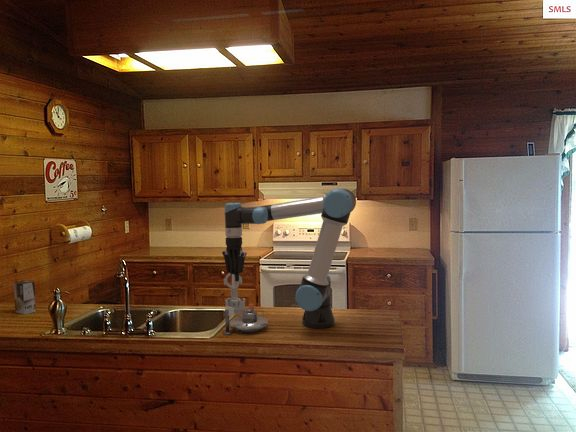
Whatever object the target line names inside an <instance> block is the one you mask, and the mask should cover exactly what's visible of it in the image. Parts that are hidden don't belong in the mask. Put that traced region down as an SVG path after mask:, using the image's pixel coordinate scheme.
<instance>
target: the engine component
mask: <svg viewBox="0 0 576 432" xmlns="http://www.w3.org/2000/svg"><path fill="white" fill-rule="evenodd" d="M229 277H231V274H230V273H229V272H228V273H227V274H226V276H225V277H224V278H223V284H224V286H227V287H228V288H229V289H230V296H231V297H228V298H226V299H225V307H229V306H231V307H233V308H234V315H242V312H243V311H246V298H244V297H243V298H242V299H241V298H240V297H239V294H238V288H235V289H233V288H232V284H230V283H229V280H228V279H229ZM241 284H243V278H242V276H240V275H239V281H238V287H239V286H240V285H241Z"/></svg>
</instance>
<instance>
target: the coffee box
mask: <svg viewBox="0 0 576 432" xmlns="http://www.w3.org/2000/svg"><path fill="white" fill-rule="evenodd" d="M35 285H36V284H35V281H30V280H20V281H16V282H13V292H14V293H13V294H14V295H13V296H14V308H15V313H17V314H20V315H29V314H33V313H36V312H37V310H36V309H37V306H36V287H35Z"/></svg>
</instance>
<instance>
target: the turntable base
mask: <svg viewBox="0 0 576 432" xmlns="http://www.w3.org/2000/svg"><path fill="white" fill-rule="evenodd" d="M262 331H263V328H261V329H256V330H238V329H235V332H237V333H240V334H246V335H247V334H249V335H250V334H256V333H261V332H262Z"/></svg>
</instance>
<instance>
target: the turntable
mask: <svg viewBox="0 0 576 432" xmlns="http://www.w3.org/2000/svg"><path fill="white" fill-rule="evenodd" d="M248 309H253V310H254V311H255V304H254V303H248ZM268 325H269V320H268V318H266V317H265V316H259V315H257V322H254V323H243V322H242V316H239V317H235V318H231V320H229V328H232V329H234V330H236V329H238V330H256V329H261V328H262V329H264V328H266V327H267V326H268Z"/></svg>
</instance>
